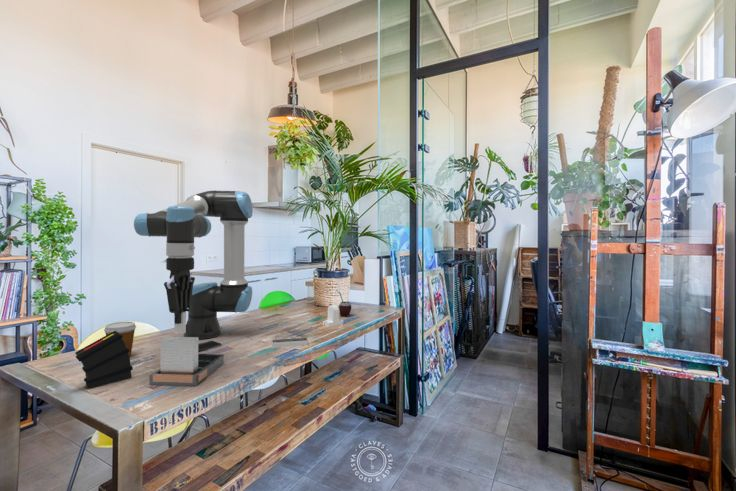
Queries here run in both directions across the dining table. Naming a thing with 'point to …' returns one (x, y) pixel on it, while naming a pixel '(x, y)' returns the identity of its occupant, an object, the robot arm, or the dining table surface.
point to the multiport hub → (289, 342)
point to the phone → (208, 345)
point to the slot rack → (205, 368)
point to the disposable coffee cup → (123, 332)
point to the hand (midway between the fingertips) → (180, 333)
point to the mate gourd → (344, 308)
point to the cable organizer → (333, 317)
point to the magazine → (105, 360)
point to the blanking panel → (179, 355)
